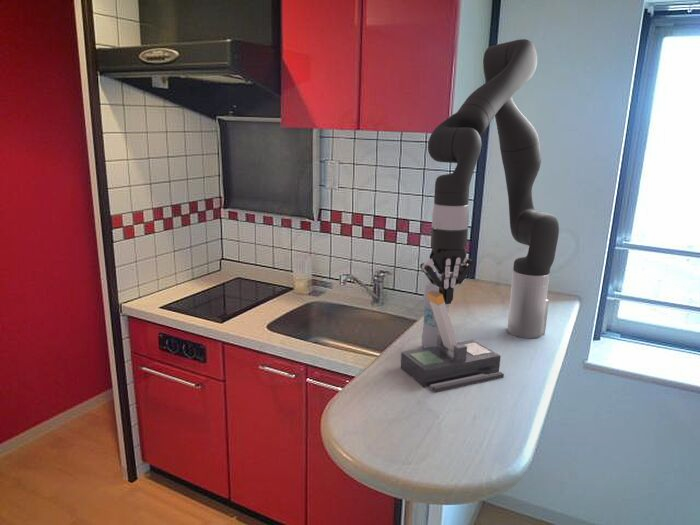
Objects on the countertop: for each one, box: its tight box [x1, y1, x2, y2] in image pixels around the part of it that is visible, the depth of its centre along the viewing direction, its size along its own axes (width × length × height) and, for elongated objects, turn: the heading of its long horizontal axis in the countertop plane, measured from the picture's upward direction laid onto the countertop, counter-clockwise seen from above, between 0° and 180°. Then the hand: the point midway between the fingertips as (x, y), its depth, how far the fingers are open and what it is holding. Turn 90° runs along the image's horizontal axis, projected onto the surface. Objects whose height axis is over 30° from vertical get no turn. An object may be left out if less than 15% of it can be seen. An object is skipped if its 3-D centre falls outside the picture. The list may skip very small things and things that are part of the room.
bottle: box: [421, 270, 451, 348], centre depth 129 cm, size 7×7×20 cm
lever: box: [427, 290, 458, 352], centre depth 116 cm, size 2×4×15 cm, turn 24°
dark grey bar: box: [429, 371, 505, 393], centre depth 114 cm, size 18×2×1 cm, turn 114°
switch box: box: [400, 335, 501, 389], centre depth 119 cm, size 20×10×7 cm, turn 115°
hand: (445, 303), depth 115 cm, fingers closed
